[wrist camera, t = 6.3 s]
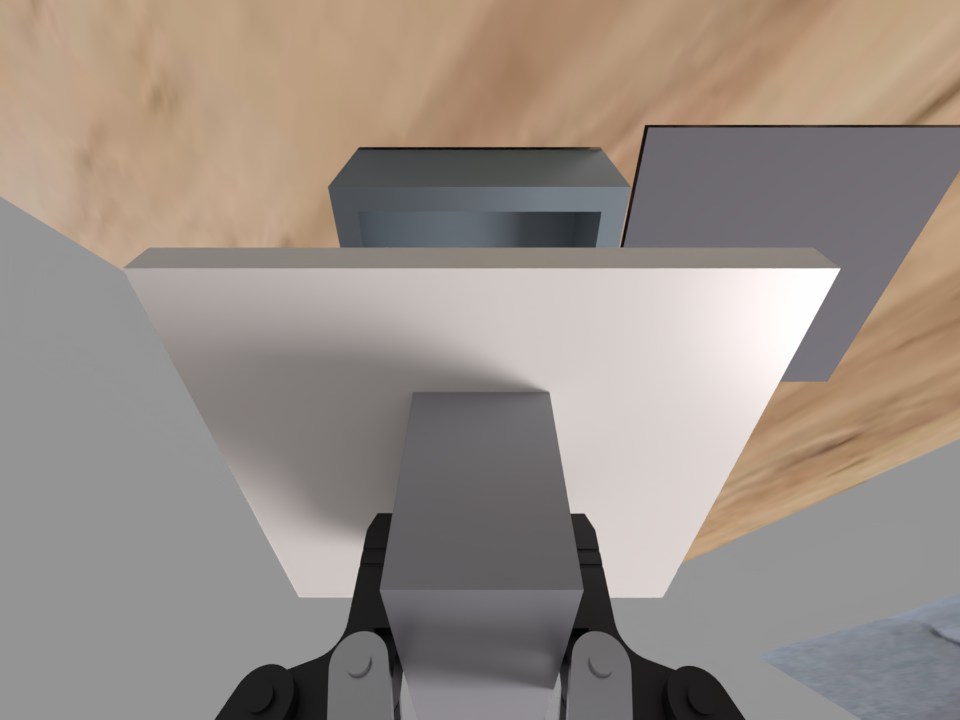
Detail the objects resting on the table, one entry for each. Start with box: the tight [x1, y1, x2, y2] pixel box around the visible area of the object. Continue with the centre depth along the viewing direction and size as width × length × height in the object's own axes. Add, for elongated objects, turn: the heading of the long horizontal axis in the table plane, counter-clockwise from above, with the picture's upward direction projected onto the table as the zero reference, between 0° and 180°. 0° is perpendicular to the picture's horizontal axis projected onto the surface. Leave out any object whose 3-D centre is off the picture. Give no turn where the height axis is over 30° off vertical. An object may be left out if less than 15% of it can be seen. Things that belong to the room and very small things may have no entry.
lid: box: [122, 248, 841, 720], centre depth 13 cm, size 15×15×6 cm
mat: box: [620, 125, 960, 382], centre depth 27 cm, size 16×16×1 cm
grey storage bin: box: [328, 147, 631, 248], centre depth 24 cm, size 12×12×6 cm
